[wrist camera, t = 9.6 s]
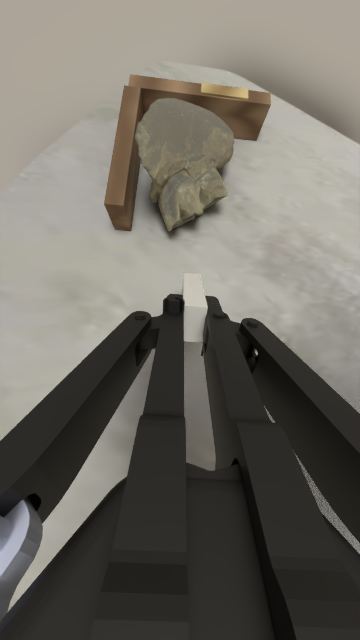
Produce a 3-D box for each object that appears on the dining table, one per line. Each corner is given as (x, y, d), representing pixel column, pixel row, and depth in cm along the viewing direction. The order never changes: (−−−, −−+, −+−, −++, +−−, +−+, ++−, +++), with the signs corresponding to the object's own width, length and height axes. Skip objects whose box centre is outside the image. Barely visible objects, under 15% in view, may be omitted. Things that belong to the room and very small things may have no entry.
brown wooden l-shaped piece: (256, 130, 28) (271, 90, 24) (257, 243, 24) (276, 219, 20) (132, 114, 27) (125, 71, 23) (115, 229, 23) (103, 202, 19)
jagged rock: (146, 215, 28) (179, 248, 23) (100, 125, 19) (137, 146, 14) (222, 160, 28) (271, 181, 23) (211, 43, 19) (289, 36, 14)
